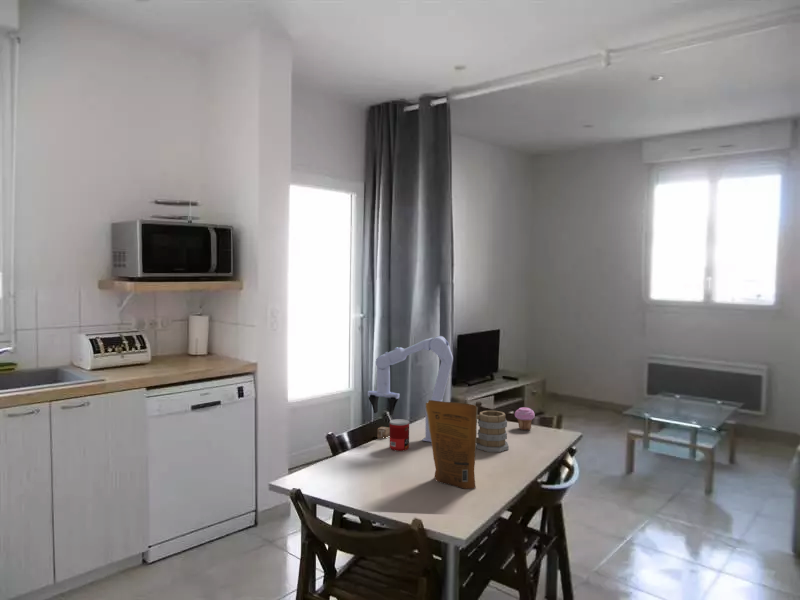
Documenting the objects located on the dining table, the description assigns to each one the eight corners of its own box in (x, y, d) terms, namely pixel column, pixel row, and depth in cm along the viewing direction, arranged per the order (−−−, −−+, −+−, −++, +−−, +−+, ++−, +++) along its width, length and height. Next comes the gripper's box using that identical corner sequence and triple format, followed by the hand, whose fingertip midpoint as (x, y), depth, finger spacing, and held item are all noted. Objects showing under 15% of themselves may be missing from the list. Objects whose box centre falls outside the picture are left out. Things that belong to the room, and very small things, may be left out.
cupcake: (516, 431, 251) (516, 409, 250) (513, 426, 259) (513, 405, 259) (536, 431, 250) (536, 409, 250) (532, 426, 259) (532, 405, 259)
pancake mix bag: (472, 493, 178) (472, 406, 177) (423, 480, 190) (424, 398, 188) (482, 487, 183) (483, 403, 182) (435, 474, 195) (435, 395, 194)
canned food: (408, 451, 222) (408, 423, 221) (388, 451, 222) (388, 423, 222) (409, 445, 229) (409, 419, 229) (390, 445, 230) (390, 418, 229)
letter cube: (389, 436, 243) (389, 427, 243) (385, 439, 239) (385, 429, 239) (381, 435, 244) (381, 426, 244) (377, 438, 241) (377, 428, 241)
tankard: (506, 443, 232) (506, 407, 232) (509, 452, 220) (509, 415, 219) (458, 442, 234) (458, 406, 234) (458, 451, 222) (458, 413, 221)
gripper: (364, 382, 240) (364, 413, 241) (394, 385, 234) (394, 417, 235) (372, 379, 247) (372, 410, 247) (401, 382, 240) (401, 413, 241)
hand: (383, 413), depth 241 cm, fingers open, 7 cm apart
